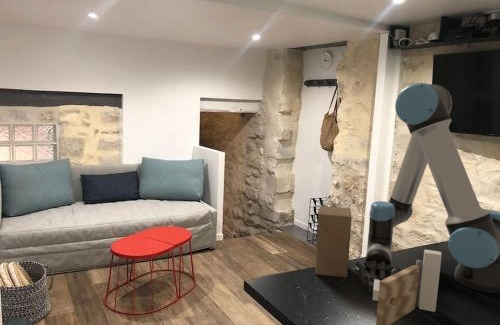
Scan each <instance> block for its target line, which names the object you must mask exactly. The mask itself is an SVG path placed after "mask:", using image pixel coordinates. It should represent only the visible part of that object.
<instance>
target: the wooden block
mask: <svg viewBox="0 0 500 325" xmlns="http://www.w3.org/2000/svg"><path fill="white" fill-rule="evenodd" d="M318 210H319V211H318V215H317V217H318V218H317V235H316V237H317V238H316V253H315V268H314V269H315V271H314V272H315V274H316V275H319V276H327V277H337V278H348V274H349V273H348V272H349V260H350V259H349V258H350V246H351V232H352V220H353V218H352V210H351V208H348V207H339V206H338V207H335V206H324V205H320V206H319V209H318Z"/></svg>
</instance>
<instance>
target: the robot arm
mask: <svg viewBox="0 0 500 325" xmlns="http://www.w3.org/2000/svg"><path fill="white" fill-rule="evenodd" d="M394 106H395V107H394V108H395V113H396V115H397V117H398V119H400V120H401V121H402V122H403V123H404V124H406V126H407V128H408V132H409V134H410V135H411V136H410V139H409V142H408V145H407V148H406V151H405V154H404V156H403V159H402V162H401V165H400V168H399V170H398V171H399V172H398V174H397V177H396V180H395V183H394V186H393V189H392V191H391V195H390V198H389V200H388V201H382V200H378V201H374V202H372V203H371V205H370V211H369V223H368V236H367V246H366V247H367V248H366V254H365V260H364V262H363V263H360V262H358V261H357V262H355V270H354V271H355V272H356V273H357V274H358V276H359V278H360V281H361V284H362V285H363V286H368V291H369V292H372V301H377V302H378V295H379V284H380V281H381V280H383V279H385V278H386V276H388V277H390V276H392V275H394V274H396V273H398V272H400V271H402V269H401V268H394V266H392V244H393V234H394V228H395V227H397V226H399V225H401V224H403V223H405V222H407V221H408V220H409V219H410V218H411V217H412V215H413V203H414V201H415V198H416V195H417V193H418V190H419V188H420V184H421V182H422V180H423V177H424V175H425V174H424V173H425V170H426V168H427V166H428V168H429V169H430V173H431V175H432V177H433V181H434V183H435V185H436V188H437V190H438V193H439V195H440V199H441V202H442V204H443V206H444V208H445V212H446V214H447V218H446V219H445V221H444V225H445V227H446V229H447V233H448V234H449V237H448V241H447V242H448V243H447V246H448V247H447V248H448V250H449V253H450V255H451V257H452V258H454V260H455V261H456V262H458V264H456V267H455V269H454V279H455V280H456V281H457V282H458V283H459V284H461V285H463V286H464V287H466V288H469V289H471V290H475V291H478V292H482V293H486V294H499V295H500V211H498V210H492V209H488V208H487V209H486V208H484V207H483V208H482V207H481V205H480V203H479V200H478V198H477V196H476V193H475V191H474V187H473V186H472V183H471V180H470V178H469V176H468V173H467V171H466V168H465V165H464V163H463V161H462V158H461V156H460V152H459V151H458V150H459V149H458V148H457V145H456V142H455V140H454V138H453V136H452V133H451V131H450V124H451V122H452V118H451V115H450V113H451V112H452V107H453V98H452V95H451V94H450V92H449V91H448V89H446V88H445V87H444V86H442V85H439V84H435V83H434V84H431V83H427V82H417V83H411V84H409V85H407V86H405V87H404V88H403V89H402V90H401V91H400V92H399V94H398V95H397V98H396V100H395V104H394ZM367 273H368V274H369V276H368V274H367ZM375 277H379V279H375Z"/></svg>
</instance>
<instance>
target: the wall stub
mask: <svg viewBox="0 0 500 325" xmlns="http://www.w3.org/2000/svg"><path fill="white" fill-rule="evenodd" d="M441 264H442V252H441V251H438V250H433V249H432V250H431V249H424V251H423V259H422V260H421V259H416V261H415V266H418V267H419V274H418V284H417V294H416V303H415V309H416V308H418V309H419V310H423V311H429V312H433V313H435V312H436V308H437V301H438V292H439V291H438V290H439V282H440V281H439V280H440V274H441Z"/></svg>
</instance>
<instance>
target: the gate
mask: <svg viewBox="0 0 500 325" xmlns="http://www.w3.org/2000/svg"><path fill="white" fill-rule="evenodd" d="M418 274H419V267H418V266H416V264H412V265H410V266H409V267H406V268H404V269H401V271H400V272H398V273H396V274H394V275H392V276H390V275H389V276H390V277H389V276H388V277H385V279H383V280H381V281H380V284H379V295H378V301H377V307H376V308H377V309H376V321H375V322H376V323H375V325H392V324H393V323H395V322H396V321H398V320H399V319H401V318H403V317H405V316H406V315H408V314H410V313H411V312H413V311H414V310H415V309H416V307H415V303H416V294H417V284H418Z"/></svg>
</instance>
